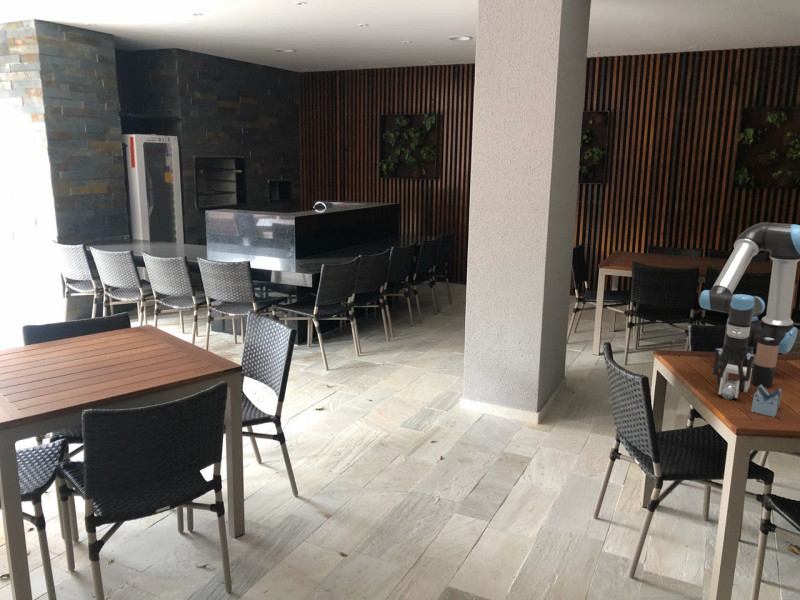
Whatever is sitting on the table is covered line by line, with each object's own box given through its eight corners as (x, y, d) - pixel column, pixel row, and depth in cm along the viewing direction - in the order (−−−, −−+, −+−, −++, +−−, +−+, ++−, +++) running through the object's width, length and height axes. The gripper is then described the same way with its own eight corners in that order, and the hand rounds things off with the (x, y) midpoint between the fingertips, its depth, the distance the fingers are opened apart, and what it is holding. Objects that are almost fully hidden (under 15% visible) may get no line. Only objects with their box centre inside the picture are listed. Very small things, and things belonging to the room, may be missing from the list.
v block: (756, 402, 242) (759, 383, 240) (778, 407, 238) (781, 388, 236) (751, 411, 232) (754, 392, 231) (774, 417, 228) (777, 397, 226)
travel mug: (765, 382, 266) (773, 335, 262) (776, 388, 259) (784, 340, 255) (747, 381, 266) (754, 334, 262) (757, 387, 258) (765, 339, 254)
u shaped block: (724, 382, 264) (727, 363, 262) (749, 387, 258) (752, 368, 257) (721, 387, 258) (724, 367, 256) (746, 392, 253) (749, 372, 251)
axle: (724, 390, 254) (726, 378, 253) (739, 393, 251) (740, 381, 250) (720, 397, 246) (721, 385, 245) (734, 400, 243) (736, 388, 242)
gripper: (709, 333, 242) (700, 392, 247) (763, 342, 232) (753, 403, 237) (713, 329, 248) (705, 387, 253) (765, 338, 238) (756, 398, 243)
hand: (728, 395), depth 245 cm, fingers closed on axle, 5 cm apart
